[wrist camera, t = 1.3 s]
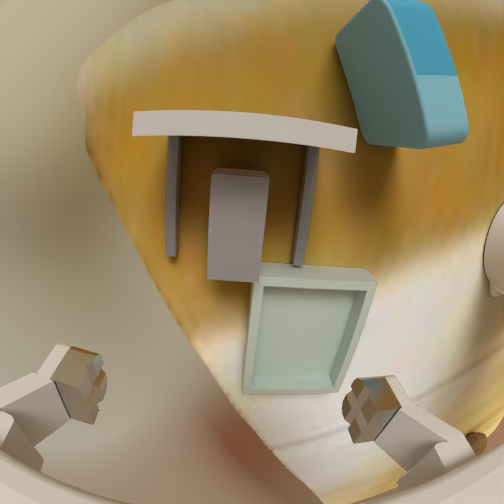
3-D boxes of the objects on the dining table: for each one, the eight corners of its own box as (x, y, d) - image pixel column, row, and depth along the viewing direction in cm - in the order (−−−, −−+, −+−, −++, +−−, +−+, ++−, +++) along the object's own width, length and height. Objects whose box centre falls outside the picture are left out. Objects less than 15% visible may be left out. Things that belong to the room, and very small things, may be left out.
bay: (317, 133, 26) (357, 128, 16) (300, 260, 31) (324, 315, 21) (173, 122, 25) (133, 111, 15) (169, 250, 30) (137, 302, 20)
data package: (398, 138, 26) (473, 144, 15) (362, 144, 26) (430, 151, 15) (369, 36, 21) (428, -4, 10) (331, 38, 22) (379, -11, 11)
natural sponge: (484, 421, 53) (496, 441, 44) (472, 436, 57) (482, 455, 47) (466, 430, 53) (478, 452, 44) (454, 445, 56) (464, 466, 47)
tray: (365, 268, 31) (377, 282, 28) (332, 375, 37) (338, 392, 34) (253, 261, 30) (254, 275, 27) (242, 374, 37) (242, 393, 33)
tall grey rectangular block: (264, 170, 27) (269, 178, 22) (256, 256, 30) (258, 282, 25) (218, 167, 27) (211, 173, 21) (213, 253, 30) (206, 279, 25)
